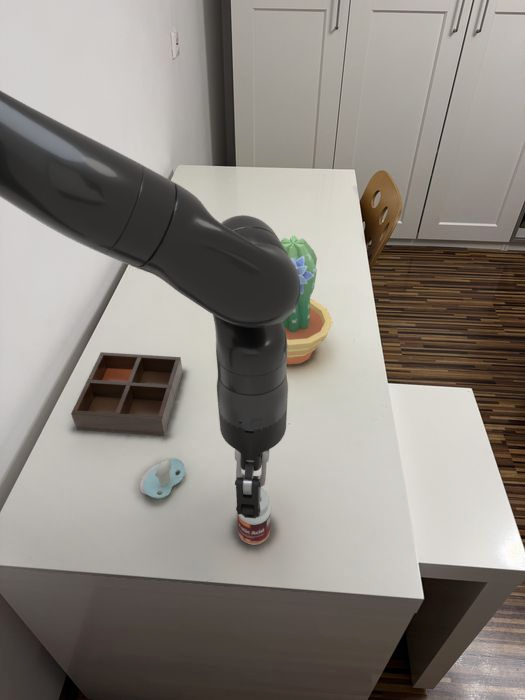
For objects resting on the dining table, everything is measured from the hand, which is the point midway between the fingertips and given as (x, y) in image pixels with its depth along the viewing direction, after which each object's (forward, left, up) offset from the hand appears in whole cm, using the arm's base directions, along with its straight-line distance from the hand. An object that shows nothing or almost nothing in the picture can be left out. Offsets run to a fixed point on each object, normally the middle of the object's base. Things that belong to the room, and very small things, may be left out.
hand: (254, 484), depth 65 cm
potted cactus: (+32, +24, -12) cm, 42 cm away
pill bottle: (0, 0, -12) cm, 12 cm away
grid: (+1, +34, -12) cm, 36 cm away
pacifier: (-5, +16, -12) cm, 20 cm away
